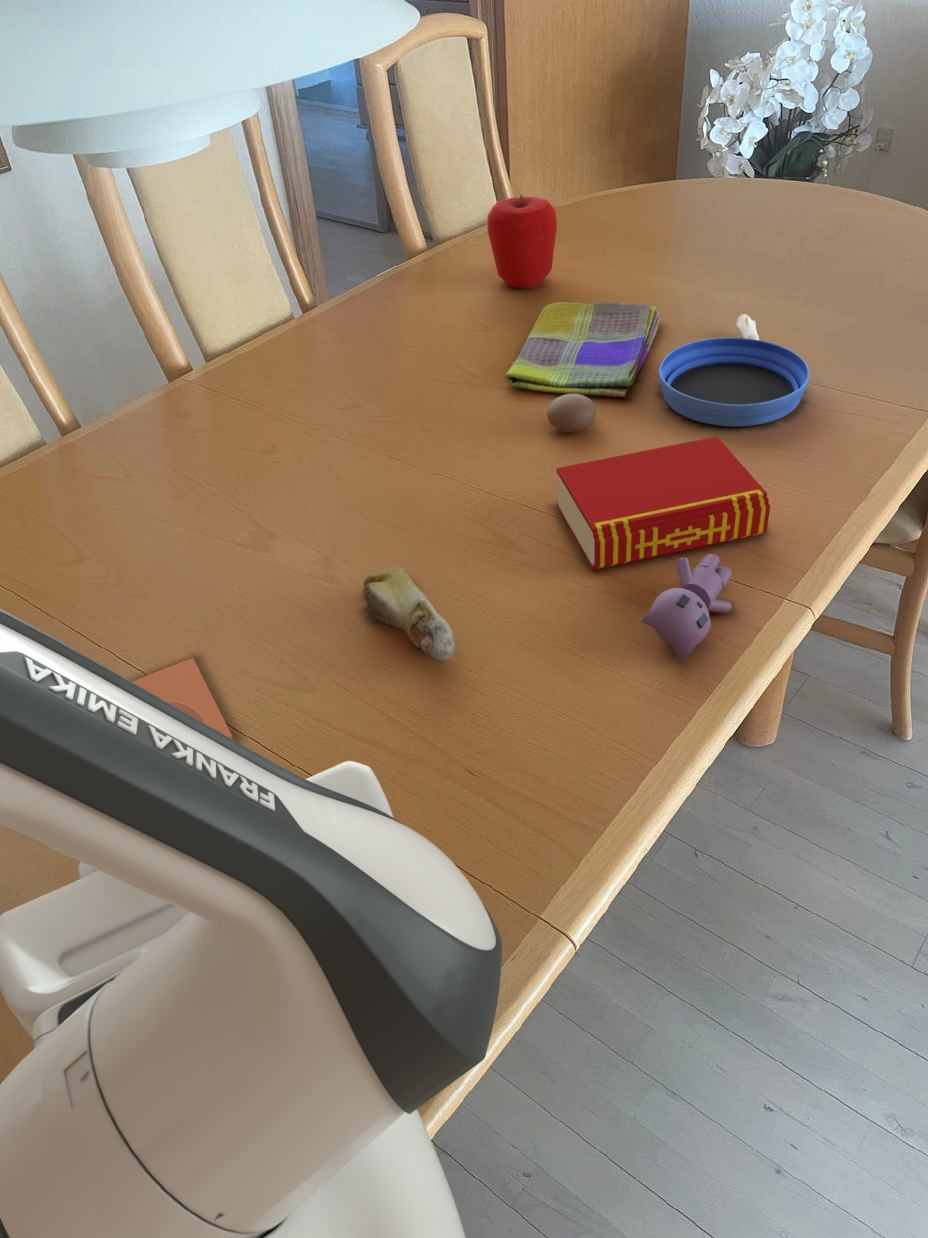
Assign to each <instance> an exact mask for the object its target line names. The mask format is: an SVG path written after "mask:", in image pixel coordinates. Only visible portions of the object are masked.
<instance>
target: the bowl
mask: <svg viewBox="0 0 928 1238" xmlns="http://www.w3.org/2000/svg"><path fill="white" fill-rule="evenodd" d="M658 381H659V385H660V388H661V390H662V391H661V392H662V397H663V399H664V401H665V402H666V404H667V405H668V407H670V408H671V409H672V410H673V411H675V413H677V414H679V415H681V416H682V417H685V418H687V419H689V420H693V421H695V422H699V423H703V424H707V425H712V426H720V427H734V428H735V427H751V426H752V427H753V426H758V425H764V424H768V423H771V422H775V421H777V420H780V419H782V418H784V417H786V416H788V415H789V414H790V413H792V412H793V411H794V410H795V409H796V408H797V407H798V406H799V404H800V403H801V399H802V396H803V395H804V394H805V392H806V390H807V388H808V385H809V382H810V368H809V366H808V363H807V362H806V361H805V359H804V358H802V357H801V355H799V354H798V353H796V352H795V351H794V350H791V349H789V348H787V347H784V346H782V345H780V344H777V343H772V342H769V341H765V340H760V339H759V340H755V339H747V338H743V337H713V338H706V339H700V340H695V341H691V342H689V343H685V344H684V345H680V346H678V347H677V348H675V349H673V350H671V351H670V352H669V353H668V354H667V355H665V357H664V358H663V359H662V361H661V363H660V365H659V369H658Z"/></svg>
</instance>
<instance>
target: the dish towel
mask: <svg viewBox="0 0 928 1238" xmlns="http://www.w3.org/2000/svg"><path fill="white" fill-rule="evenodd" d="M659 315H660V311H659V310H657V306H656V305H650V303H619V302H599V303H579V302H573V301H560V302H553V303H550V304H549V303H548V304H547V305H545V306H544V307H543V308H542V310H541V311H540V313H539V315H538V317H537V319H536V321H535V322H534V325H533V326H532V329H531V330H530V333H529V334H528V335H527V337H526V340H525V342H524V344H523V346H522V349H521V351H520V352H519V354H518V356H517V357H516V359H515V360H514V362H513V363H512V364H511V366H510V368H509V369H508V370H507V372H506V374H504V380H505V382H506V383H507V384H509V385H511V386H513V387H517V388H521V389H525V390H530V391H535V392H537V391H538V392H545V393H546V392H547V393H555V394H563V395H566V394H580V395H586V396H587V395H590V396H601V397H602V396H605V397H614V398H625V397H626V395H627V392H628V391H629V389H630V388H631V386H633V384H634V381H635V380H636V377H637V375H638V373H639V371H640V369H642V366H643V364H644V363H645V360H646V359H647V356H648V353H649V352H650V351H651V347H652V345H653V341H654V339H655V337H656V335H657V332H658V329H659V326H660V323H661V322H662V318H661V317H659Z"/></svg>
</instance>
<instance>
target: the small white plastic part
mask: <svg viewBox="0 0 928 1238" xmlns="http://www.w3.org/2000/svg"><path fill="white" fill-rule="evenodd" d="M735 326H736V328H737V330H738V331H739V333H740V335H741V338H747V339H755V340H760V336H759V334H758V332H757V326H756V321H755V320H752V318H751V317H750V316H749V315H747V314H745V313H744V314H743V313H742V314H741V315H739V316H738V317H737V318H736V323H735Z"/></svg>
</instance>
